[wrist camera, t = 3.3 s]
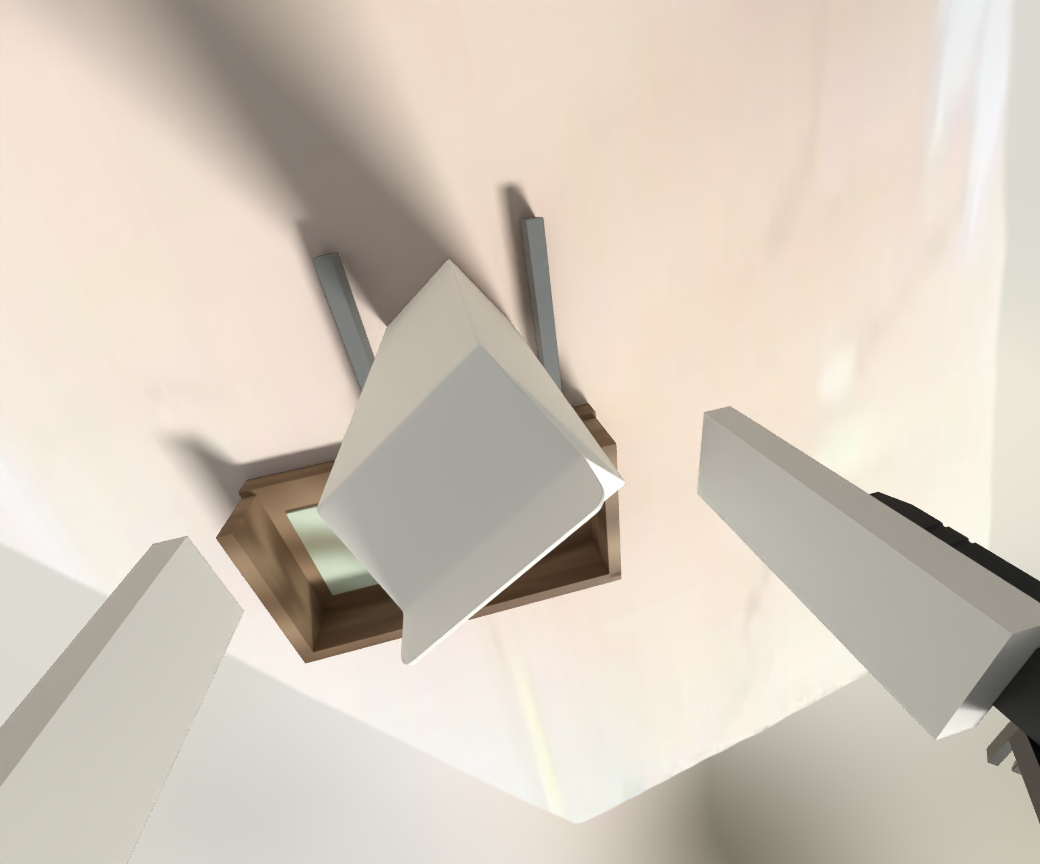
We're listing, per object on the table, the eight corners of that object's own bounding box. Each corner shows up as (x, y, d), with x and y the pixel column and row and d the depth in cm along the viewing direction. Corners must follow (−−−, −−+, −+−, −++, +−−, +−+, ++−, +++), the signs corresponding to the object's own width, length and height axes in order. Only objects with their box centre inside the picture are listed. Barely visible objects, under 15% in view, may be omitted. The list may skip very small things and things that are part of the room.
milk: (513, 324, 28) (694, 567, 9) (453, 385, 29) (500, 711, 10) (447, 255, 25) (505, 397, 6) (383, 326, 26) (269, 626, 7)
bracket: (320, 255, 24) (312, 258, 22) (535, 217, 25) (543, 217, 23) (384, 431, 30) (382, 444, 28) (556, 393, 31) (563, 404, 29)
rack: (246, 480, 30) (211, 531, 25) (588, 403, 32) (615, 437, 27) (321, 604, 37) (305, 663, 32) (598, 534, 39) (621, 579, 34)
